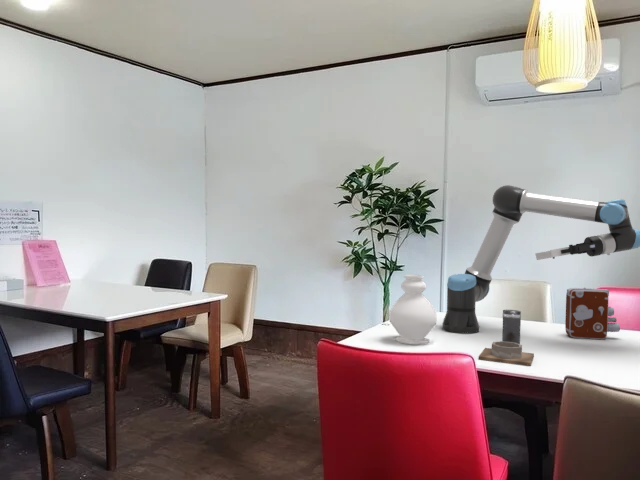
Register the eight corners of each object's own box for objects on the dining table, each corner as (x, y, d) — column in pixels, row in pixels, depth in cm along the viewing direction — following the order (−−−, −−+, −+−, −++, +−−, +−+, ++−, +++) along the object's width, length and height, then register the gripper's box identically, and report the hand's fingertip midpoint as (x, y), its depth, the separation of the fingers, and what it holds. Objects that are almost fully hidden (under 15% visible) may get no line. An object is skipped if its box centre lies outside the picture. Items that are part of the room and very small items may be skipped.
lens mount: (478, 359, 168) (478, 345, 168) (485, 350, 181) (485, 337, 180) (530, 366, 161) (531, 351, 161) (533, 356, 173) (534, 343, 173)
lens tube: (500, 350, 181) (501, 311, 181) (502, 347, 186) (503, 309, 186) (519, 352, 178) (520, 312, 178) (520, 349, 184) (521, 310, 183)
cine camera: (623, 341, 200) (624, 290, 199) (569, 338, 204) (571, 288, 203) (614, 336, 209) (616, 288, 208) (563, 334, 213) (565, 286, 212)
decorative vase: (380, 337, 200) (382, 273, 199) (419, 334, 206) (421, 273, 205) (404, 347, 183) (405, 278, 182) (445, 344, 189) (447, 277, 189)
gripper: (619, 251, 180) (560, 262, 180) (584, 257, 205) (532, 267, 205) (614, 231, 181) (555, 241, 181) (580, 239, 206) (528, 248, 206)
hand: (543, 255), depth 193 cm, fingers open, 13 cm apart
